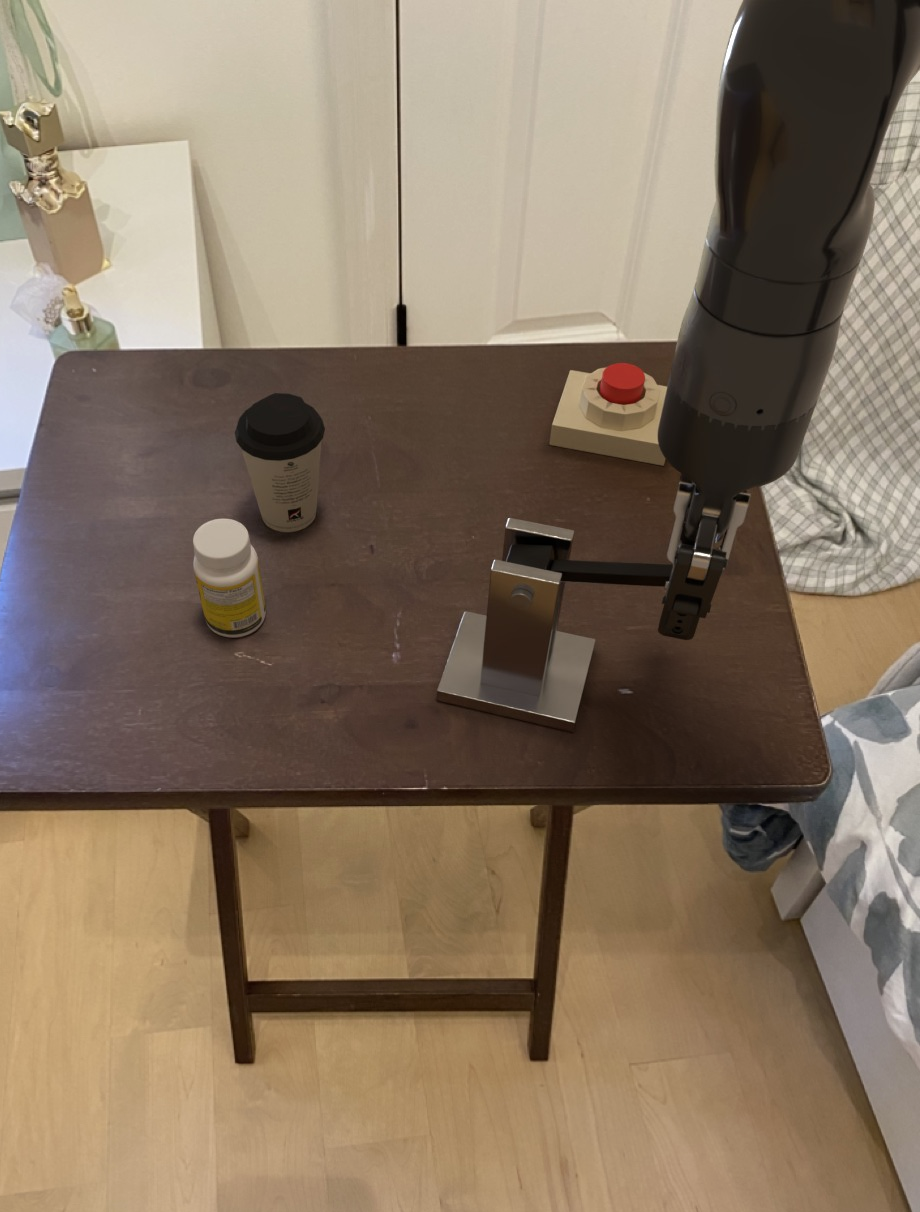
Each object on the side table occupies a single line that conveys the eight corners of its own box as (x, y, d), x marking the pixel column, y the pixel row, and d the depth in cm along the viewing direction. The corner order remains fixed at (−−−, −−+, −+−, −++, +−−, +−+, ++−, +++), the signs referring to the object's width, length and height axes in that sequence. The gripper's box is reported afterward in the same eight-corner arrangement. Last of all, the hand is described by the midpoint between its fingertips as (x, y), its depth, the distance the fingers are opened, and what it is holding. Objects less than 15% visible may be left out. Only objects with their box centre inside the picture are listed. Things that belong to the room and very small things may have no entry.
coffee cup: (316, 549, 88) (308, 451, 80) (235, 534, 89) (219, 436, 81) (340, 492, 92) (335, 393, 84) (262, 478, 93) (249, 380, 85)
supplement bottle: (220, 587, 85) (204, 507, 79) (275, 601, 84) (264, 521, 78) (195, 631, 83) (176, 552, 76) (252, 646, 82) (238, 567, 75)
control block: (676, 409, 98) (686, 371, 94) (663, 466, 93) (673, 428, 90) (567, 390, 99) (572, 352, 96) (549, 445, 95) (554, 407, 92)
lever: (705, 563, 69) (705, 535, 68) (695, 619, 67) (694, 591, 65) (520, 555, 74) (516, 529, 72) (503, 608, 71) (498, 581, 69)
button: (644, 383, 94) (648, 366, 93) (638, 409, 92) (641, 392, 91) (603, 376, 95) (606, 359, 93) (596, 401, 93) (599, 384, 91)
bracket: (593, 649, 81) (621, 523, 71) (572, 732, 77) (599, 610, 66) (464, 621, 83) (473, 494, 73) (436, 700, 78) (441, 577, 68)
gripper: (811, 477, 51) (728, 699, 64) (830, 307, 59) (752, 536, 72) (651, 450, 52) (602, 672, 66) (690, 287, 60) (640, 516, 74)
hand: (681, 600), depth 69 cm, fingers closed on lever, 5 cm apart
